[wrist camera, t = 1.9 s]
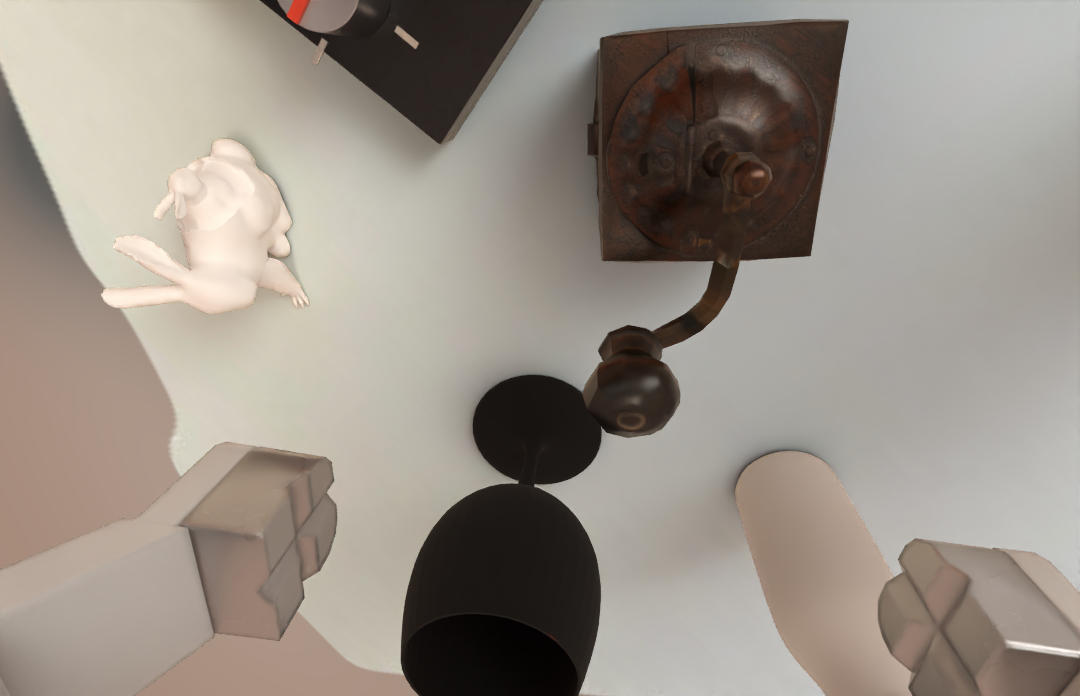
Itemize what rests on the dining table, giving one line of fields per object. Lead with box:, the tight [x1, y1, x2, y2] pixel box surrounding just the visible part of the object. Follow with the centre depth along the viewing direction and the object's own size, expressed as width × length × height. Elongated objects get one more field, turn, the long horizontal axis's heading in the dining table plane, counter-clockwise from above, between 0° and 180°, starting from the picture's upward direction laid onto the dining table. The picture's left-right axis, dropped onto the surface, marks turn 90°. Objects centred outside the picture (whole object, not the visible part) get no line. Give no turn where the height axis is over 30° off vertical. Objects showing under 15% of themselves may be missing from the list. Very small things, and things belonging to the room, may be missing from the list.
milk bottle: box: [735, 451, 912, 696], centre depth 35 cm, size 8×8×20 cm
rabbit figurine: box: [101, 138, 310, 314], centre depth 34 cm, size 12×8×10 cm, turn 179°
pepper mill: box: [582, 19, 849, 438], centre depth 26 cm, size 16×11×18 cm
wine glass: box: [401, 375, 601, 696], centre depth 35 cm, size 10×10×20 cm
